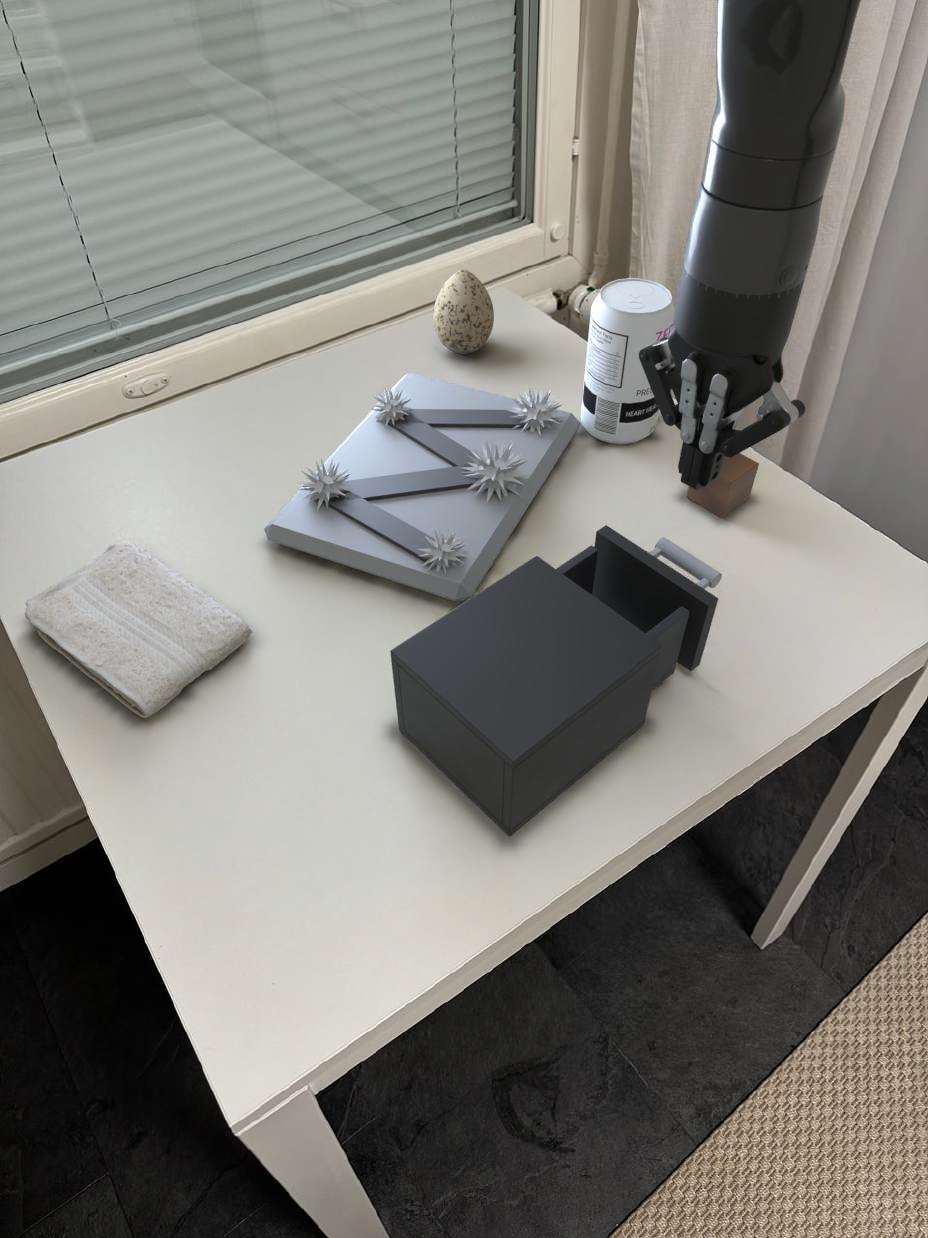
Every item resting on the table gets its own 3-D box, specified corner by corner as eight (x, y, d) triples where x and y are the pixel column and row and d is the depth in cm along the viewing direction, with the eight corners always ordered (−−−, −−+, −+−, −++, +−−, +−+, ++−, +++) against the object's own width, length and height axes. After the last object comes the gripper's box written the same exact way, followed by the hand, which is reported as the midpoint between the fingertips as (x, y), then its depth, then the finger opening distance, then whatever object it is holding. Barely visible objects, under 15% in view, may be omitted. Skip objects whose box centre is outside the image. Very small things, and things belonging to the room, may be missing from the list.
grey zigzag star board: (406, 385, 103) (402, 329, 98) (582, 430, 97) (588, 372, 91) (260, 546, 85) (246, 487, 79) (466, 614, 78) (465, 555, 73)
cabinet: (531, 636, 76) (536, 554, 69) (644, 725, 70) (662, 645, 63) (398, 730, 70) (389, 650, 63) (509, 837, 63) (513, 762, 56)
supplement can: (581, 401, 100) (594, 273, 89) (655, 406, 100) (677, 277, 89) (577, 444, 95) (591, 313, 84) (656, 450, 94) (679, 318, 83)
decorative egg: (445, 331, 111) (442, 252, 104) (500, 339, 110) (501, 260, 102) (427, 361, 107) (423, 281, 99) (484, 369, 105) (484, 289, 98)
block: (749, 499, 88) (759, 463, 85) (722, 518, 87) (731, 482, 83) (713, 478, 91) (722, 442, 88) (686, 497, 89) (693, 461, 86)
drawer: (633, 565, 81) (645, 498, 75) (736, 634, 75) (757, 567, 69) (484, 670, 73) (484, 604, 67) (586, 757, 67) (597, 693, 61)
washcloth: (129, 552, 84) (120, 528, 82) (261, 638, 77) (254, 614, 74) (19, 626, 78) (5, 602, 76) (150, 728, 70) (139, 704, 68)
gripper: (873, 277, 54) (798, 501, 66) (697, 211, 61) (659, 425, 73) (802, 320, 50) (737, 547, 63) (624, 245, 57) (598, 463, 70)
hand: (695, 481), depth 68 cm, fingers closed
